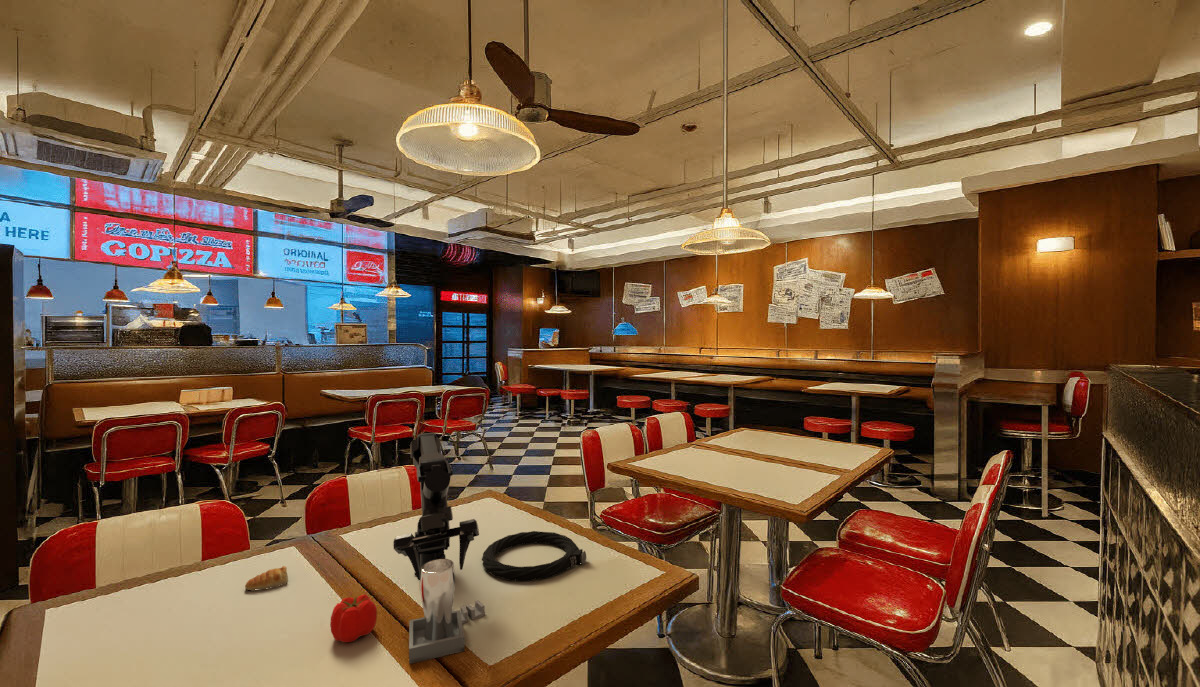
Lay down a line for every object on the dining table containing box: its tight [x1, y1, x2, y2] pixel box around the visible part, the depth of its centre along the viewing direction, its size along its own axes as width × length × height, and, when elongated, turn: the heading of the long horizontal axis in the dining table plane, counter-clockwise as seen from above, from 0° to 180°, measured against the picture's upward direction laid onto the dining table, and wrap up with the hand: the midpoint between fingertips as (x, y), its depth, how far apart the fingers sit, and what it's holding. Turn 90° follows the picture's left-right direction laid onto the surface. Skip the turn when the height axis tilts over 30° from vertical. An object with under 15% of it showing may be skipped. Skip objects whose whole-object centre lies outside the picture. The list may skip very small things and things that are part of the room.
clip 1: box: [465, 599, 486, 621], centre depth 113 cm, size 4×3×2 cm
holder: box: [408, 609, 465, 665], centre depth 102 cm, size 10×10×3 cm
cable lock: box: [481, 530, 587, 582], centre depth 140 cm, size 28×4×30 cm
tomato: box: [330, 594, 378, 643], centre depth 105 cm, size 9×9×8 cm
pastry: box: [244, 565, 289, 591], centre depth 128 cm, size 9×7×4 cm
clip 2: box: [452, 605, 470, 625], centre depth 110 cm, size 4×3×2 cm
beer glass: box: [419, 558, 456, 643], centre depth 103 cm, size 7×7×15 cm
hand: (440, 574), depth 111 cm, fingers open, 9 cm apart
